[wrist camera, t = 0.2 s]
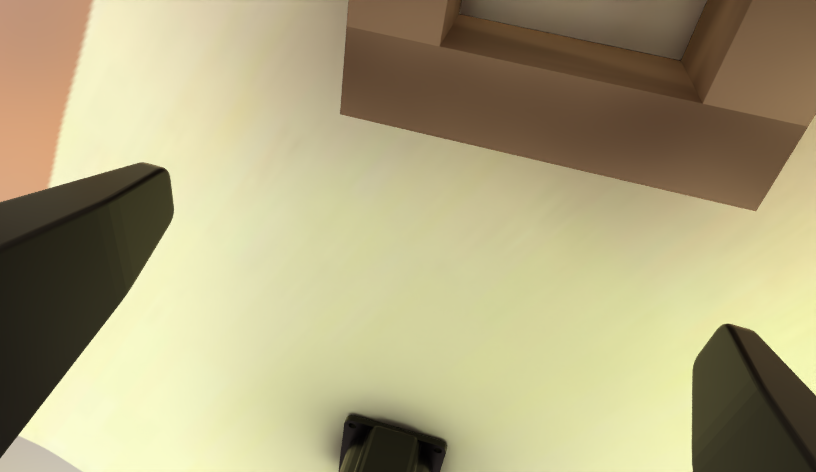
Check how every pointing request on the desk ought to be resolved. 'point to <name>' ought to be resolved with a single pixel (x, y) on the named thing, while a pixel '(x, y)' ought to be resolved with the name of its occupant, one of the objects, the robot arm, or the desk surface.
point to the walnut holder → (596, 92)
